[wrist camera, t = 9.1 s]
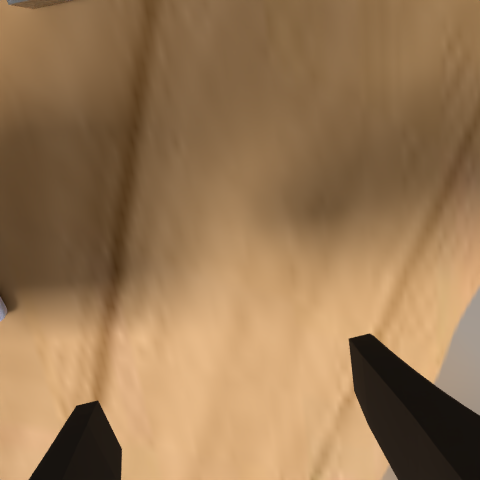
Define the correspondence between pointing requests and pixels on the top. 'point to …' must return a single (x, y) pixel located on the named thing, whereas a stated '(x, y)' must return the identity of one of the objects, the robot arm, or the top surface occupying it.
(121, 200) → the top surface
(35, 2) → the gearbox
